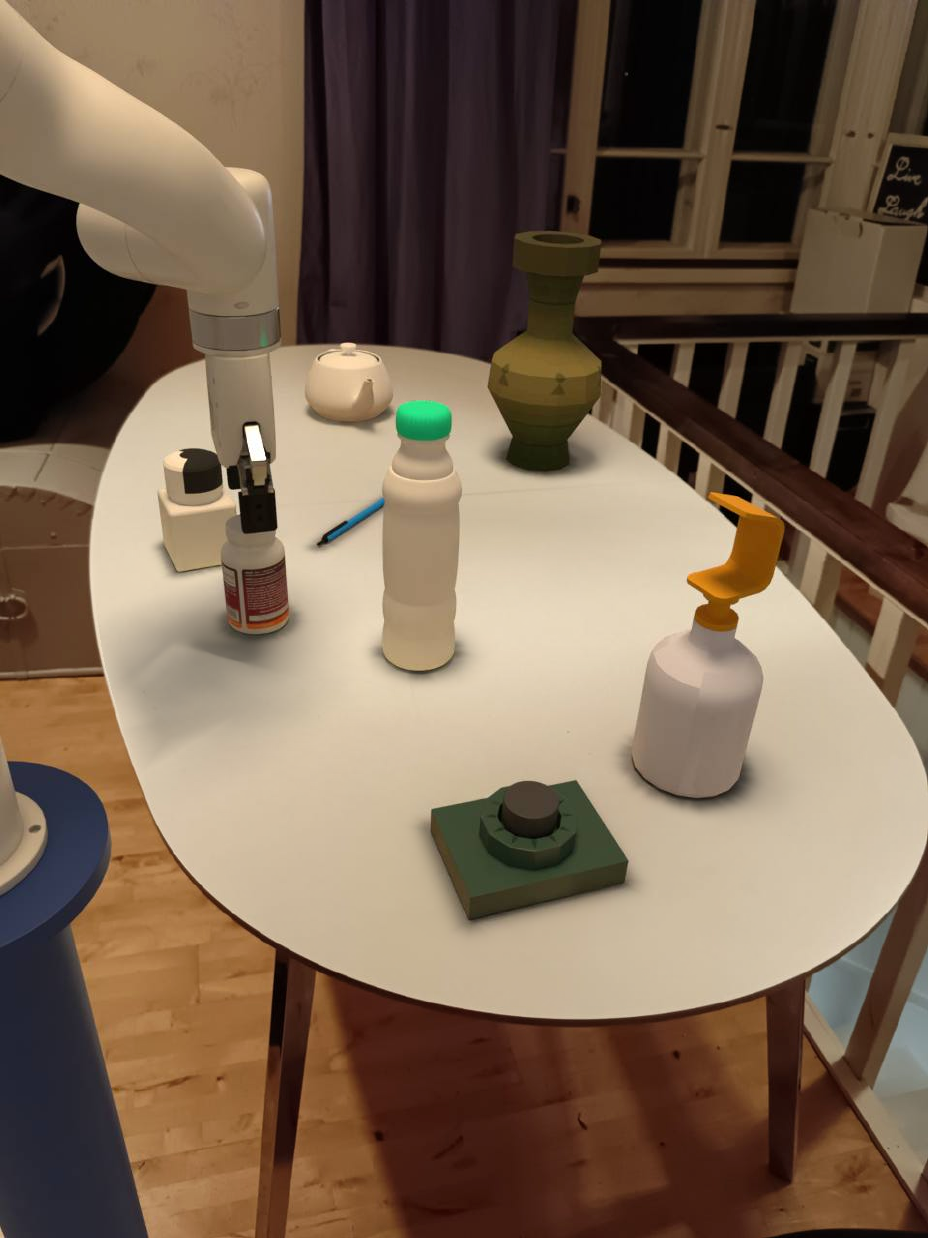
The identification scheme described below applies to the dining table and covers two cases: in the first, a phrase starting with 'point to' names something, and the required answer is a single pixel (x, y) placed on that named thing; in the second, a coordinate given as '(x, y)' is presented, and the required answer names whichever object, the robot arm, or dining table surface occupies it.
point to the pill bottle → (254, 580)
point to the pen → (350, 522)
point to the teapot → (348, 384)
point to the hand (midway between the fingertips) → (252, 508)
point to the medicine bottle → (194, 508)
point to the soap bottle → (708, 672)
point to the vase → (547, 353)
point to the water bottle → (420, 540)
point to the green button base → (525, 853)
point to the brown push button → (530, 809)
